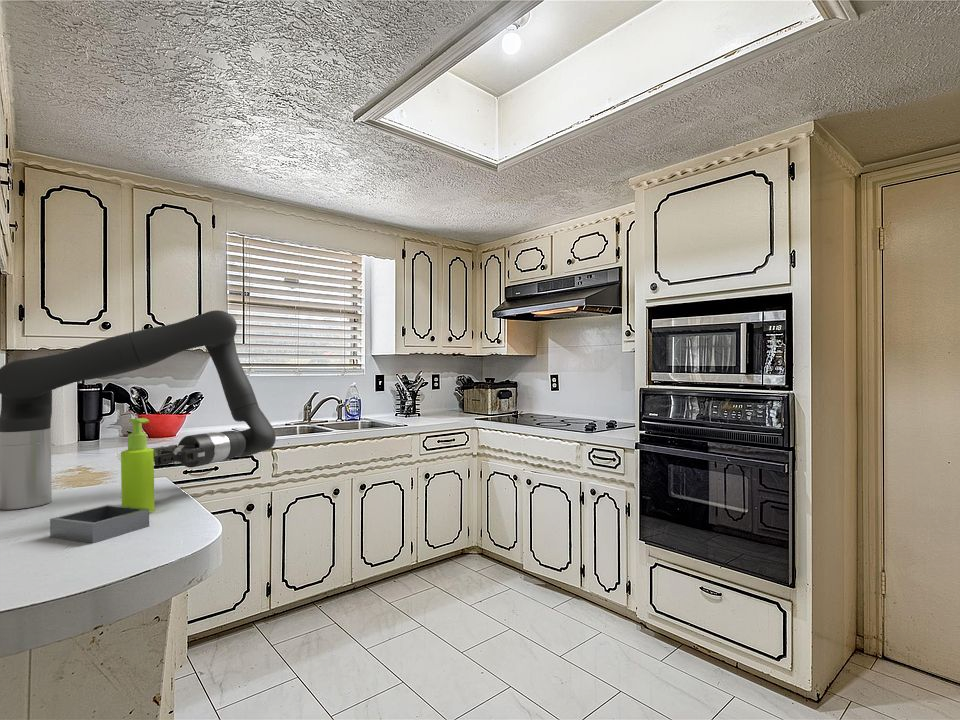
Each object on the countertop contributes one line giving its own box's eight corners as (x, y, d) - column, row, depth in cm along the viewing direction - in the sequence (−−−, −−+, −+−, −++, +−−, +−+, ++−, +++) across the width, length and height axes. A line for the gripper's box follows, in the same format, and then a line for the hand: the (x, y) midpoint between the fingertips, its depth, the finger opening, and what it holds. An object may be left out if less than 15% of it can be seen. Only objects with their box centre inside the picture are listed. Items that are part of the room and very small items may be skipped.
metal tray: (50, 537, 99) (50, 518, 99) (108, 521, 109) (108, 504, 109) (92, 543, 95) (92, 524, 95) (149, 526, 105) (149, 508, 105)
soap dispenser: (130, 518, 111) (129, 420, 111) (117, 513, 115) (115, 418, 115) (161, 511, 115) (159, 417, 116) (147, 507, 120) (146, 416, 120)
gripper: (182, 432, 134) (118, 441, 119) (226, 434, 129) (165, 443, 113) (183, 463, 134) (118, 476, 118) (227, 465, 128) (165, 479, 113)
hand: (141, 460), depth 116 cm, fingers open, 8 cm apart
